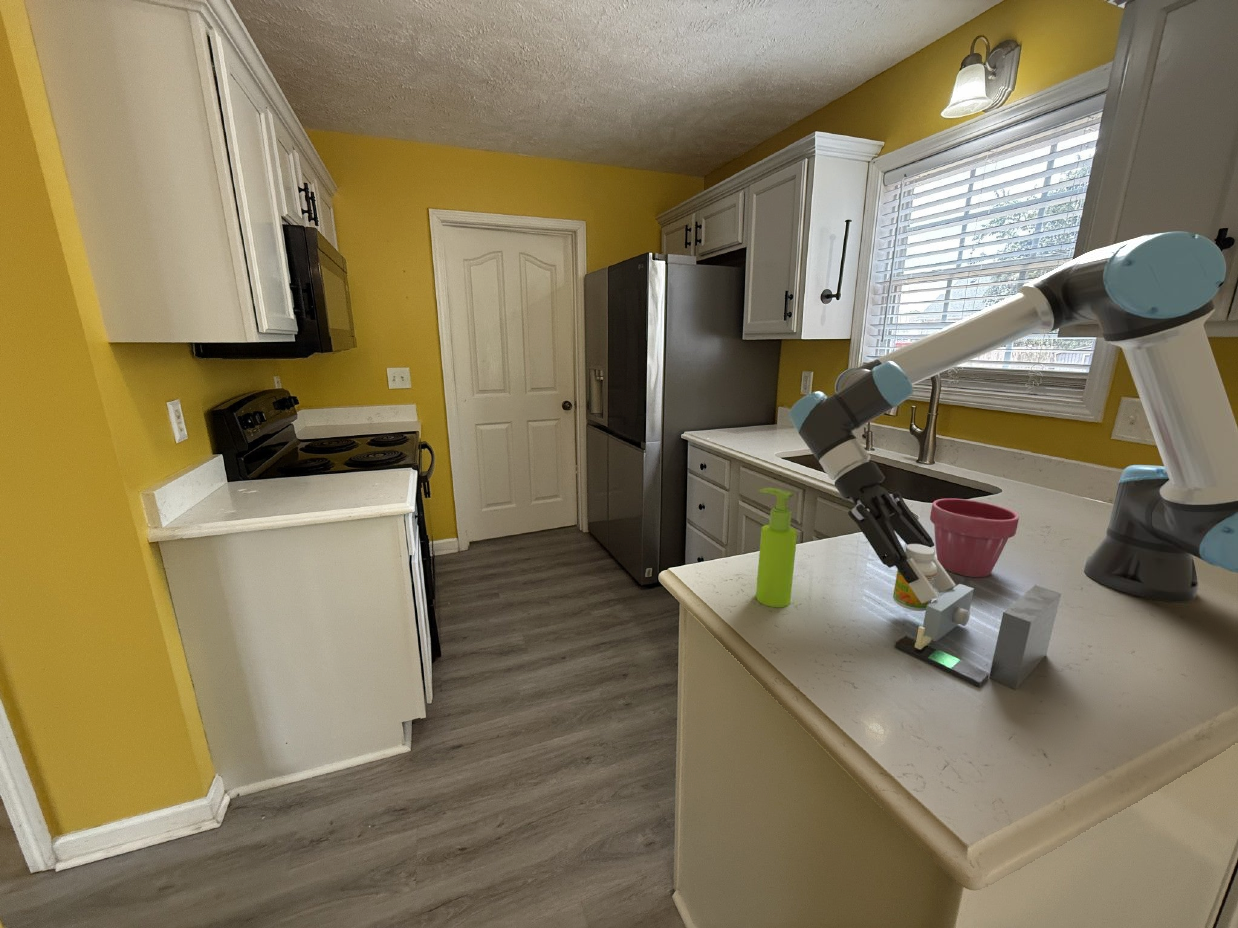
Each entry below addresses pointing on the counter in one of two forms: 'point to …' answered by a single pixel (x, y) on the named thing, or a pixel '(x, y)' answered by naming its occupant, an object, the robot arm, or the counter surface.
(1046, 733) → the counter surface
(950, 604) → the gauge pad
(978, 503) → the plant pot
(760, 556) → the soap dispenser
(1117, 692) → the counter surface
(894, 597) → the supplement bottle
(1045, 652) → the frame
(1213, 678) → the counter surface
